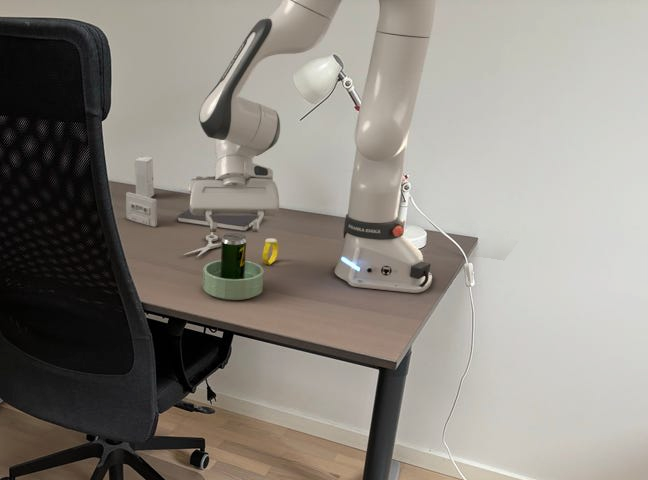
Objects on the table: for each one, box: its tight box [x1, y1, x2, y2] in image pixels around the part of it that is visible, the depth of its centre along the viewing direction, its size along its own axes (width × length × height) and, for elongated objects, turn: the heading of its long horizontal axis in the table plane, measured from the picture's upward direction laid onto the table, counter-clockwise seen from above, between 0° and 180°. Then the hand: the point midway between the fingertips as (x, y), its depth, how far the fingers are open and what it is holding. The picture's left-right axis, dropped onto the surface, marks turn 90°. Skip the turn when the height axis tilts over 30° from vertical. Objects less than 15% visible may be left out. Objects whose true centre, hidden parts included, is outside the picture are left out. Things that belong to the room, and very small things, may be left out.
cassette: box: [125, 191, 158, 228], centre depth 211 cm, size 12×2×8 cm, turn 47°
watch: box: [262, 237, 279, 266], centre depth 182 cm, size 6×3×6 cm, turn 148°
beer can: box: [220, 232, 247, 279], centre depth 164 cm, size 5×5×12 cm
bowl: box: [202, 259, 265, 301], centre depth 166 cm, size 13×13×5 cm
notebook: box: [177, 208, 257, 232], centre depth 215 cm, size 13×2×21 cm
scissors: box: [182, 232, 222, 258], centre depth 192 cm, size 11×1×20 cm
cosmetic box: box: [134, 156, 155, 198], centre depth 235 cm, size 6×4×12 cm
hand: (234, 231), depth 165 cm, fingers open, 8 cm apart
